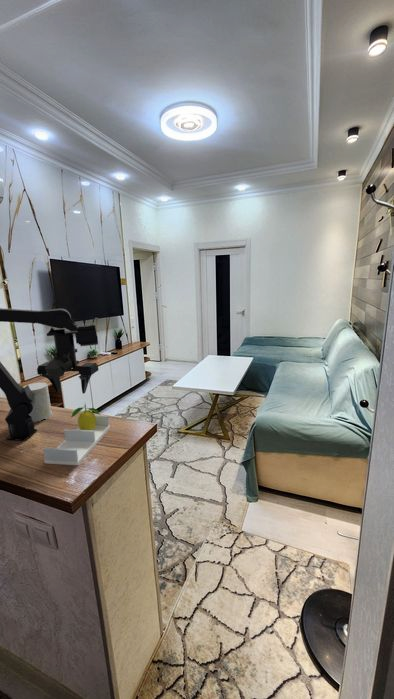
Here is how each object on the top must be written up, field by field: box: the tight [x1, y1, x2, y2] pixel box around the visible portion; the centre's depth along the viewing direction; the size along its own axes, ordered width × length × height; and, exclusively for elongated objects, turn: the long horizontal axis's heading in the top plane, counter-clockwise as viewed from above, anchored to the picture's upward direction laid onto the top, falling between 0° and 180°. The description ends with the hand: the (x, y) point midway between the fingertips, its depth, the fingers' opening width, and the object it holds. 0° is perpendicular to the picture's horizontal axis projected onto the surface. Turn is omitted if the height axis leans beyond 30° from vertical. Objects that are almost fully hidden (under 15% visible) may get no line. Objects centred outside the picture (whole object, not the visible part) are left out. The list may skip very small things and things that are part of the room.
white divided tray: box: [43, 414, 111, 466], centre depth 89 cm, size 10×21×4 cm, turn 172°
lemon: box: [70, 403, 100, 430], centre depth 93 cm, size 7×6×10 cm
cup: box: [23, 382, 53, 423], centre depth 107 cm, size 8×8×12 cm
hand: (71, 392), depth 98 cm, fingers open, 9 cm apart
